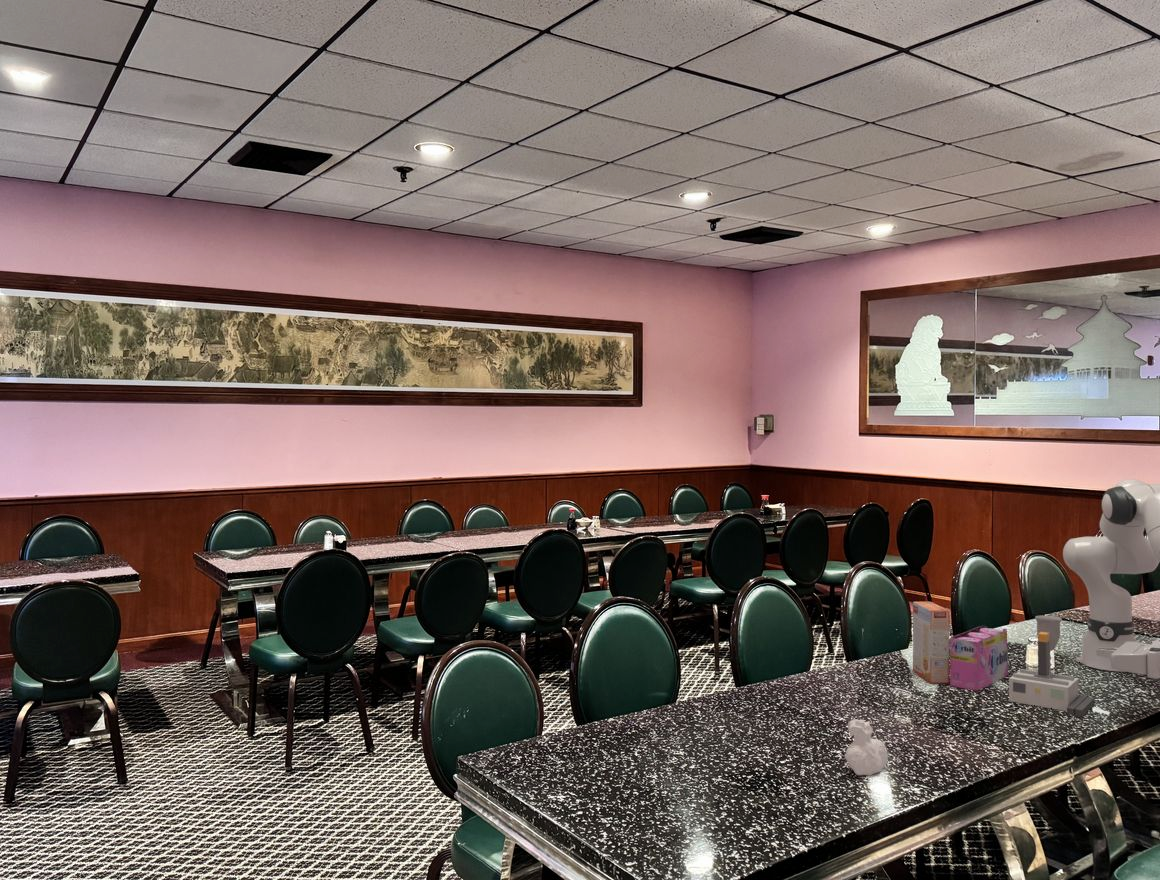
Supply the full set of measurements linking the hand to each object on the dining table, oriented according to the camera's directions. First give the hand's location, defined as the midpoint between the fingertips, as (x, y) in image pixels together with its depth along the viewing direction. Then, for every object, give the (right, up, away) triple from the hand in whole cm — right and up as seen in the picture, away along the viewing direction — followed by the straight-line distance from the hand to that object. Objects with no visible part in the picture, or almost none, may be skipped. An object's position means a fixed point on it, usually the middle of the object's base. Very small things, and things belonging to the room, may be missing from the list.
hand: (1097, 651), depth 232 cm
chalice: (+1, -15, +27) cm, 31 cm away
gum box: (-17, -15, +29) cm, 37 cm away
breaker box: (-10, -15, +8) cm, 19 cm away
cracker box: (-30, -15, +32) cm, 46 cm away
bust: (-72, -16, -40) cm, 84 cm away
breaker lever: (-10, -9, +8) cm, 15 cm away
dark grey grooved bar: (-3, -15, +2) cm, 15 cm away
